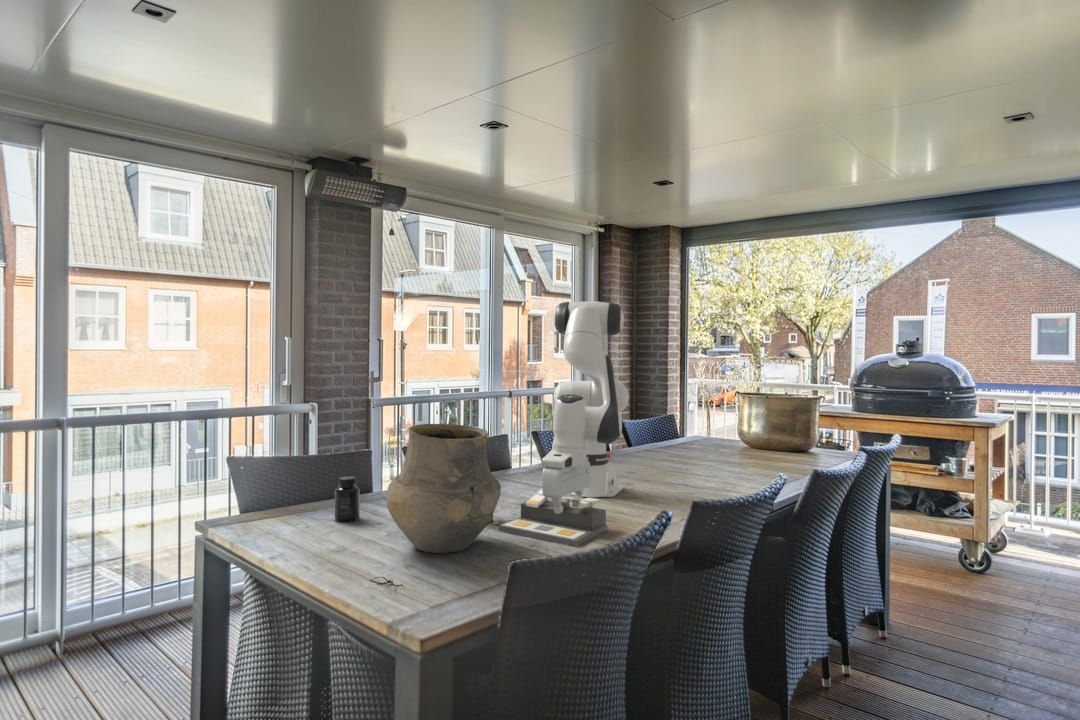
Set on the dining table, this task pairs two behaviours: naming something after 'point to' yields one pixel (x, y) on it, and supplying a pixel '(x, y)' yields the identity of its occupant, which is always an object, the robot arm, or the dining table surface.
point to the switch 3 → (586, 503)
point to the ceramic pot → (443, 488)
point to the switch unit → (557, 524)
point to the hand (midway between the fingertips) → (567, 509)
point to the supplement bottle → (347, 500)
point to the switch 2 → (564, 501)
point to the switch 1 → (537, 500)
